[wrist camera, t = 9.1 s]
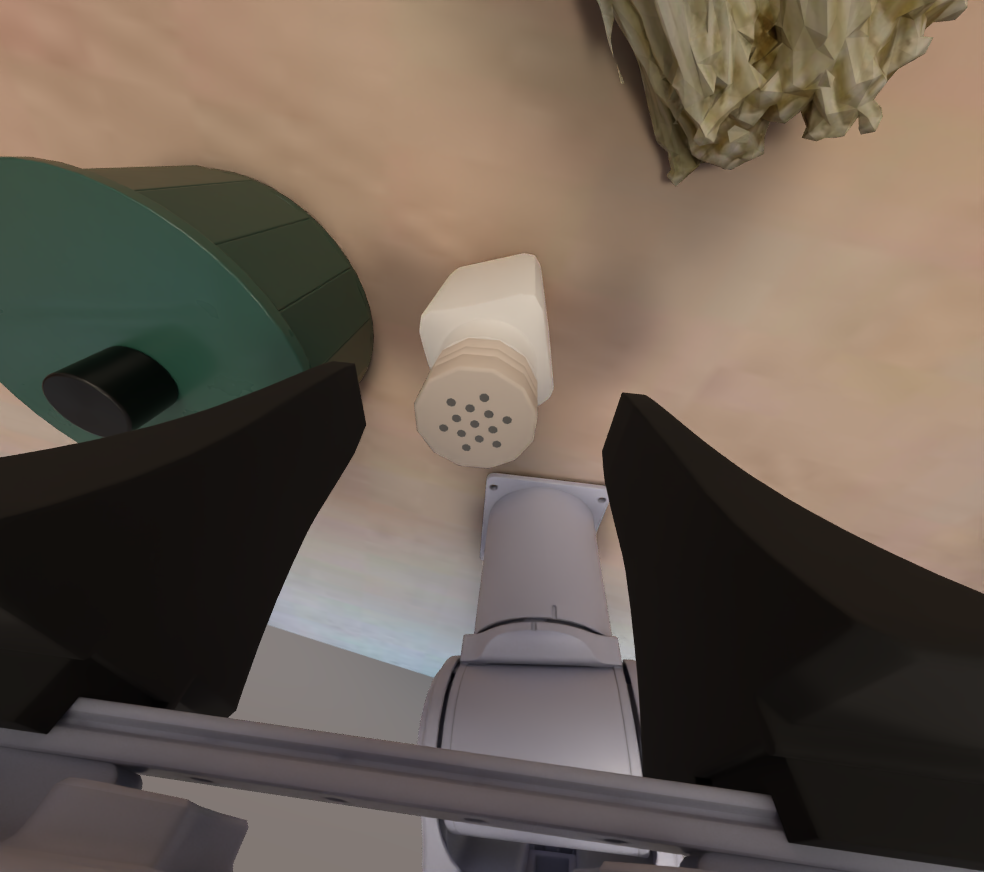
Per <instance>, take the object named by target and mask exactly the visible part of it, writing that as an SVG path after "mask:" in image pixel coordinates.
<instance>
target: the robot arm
mask: <svg viewBox="0 0 984 872" xmlns="http://www.w3.org/2000/svg"><path fill="white" fill-rule="evenodd" d="M365 426H366V421H365V416H364V410H363V405H362V399H361V394H360V388H359V383H358V377H357V372H356V366H355V363H346V362H337V361H332V362H328V363H325V364H322V365H319V366H316V367H313V368H311V369H308V370H306V371H303V372H301V373H298V374H296V375H294V376H291V377H289V378H286V379H284V380H282V381H279V382H277V383H274V384H272V385H270V386H267V387H265V388H262V389H260V390H257V391H255V392H252V393H249V394H247V395H244V396H242V397H239V398H236V399H234V400H231V401H228V402H226V403H223V404H221V405H218V406H215V407H212V408H209V409H206V410H203V411H200V412H197V413H194V414H191V415H187V416H184V417H181V418H177V419H174V420H171V421H167V422H164V423H160V424H157V425H153V426H149V427H145V428H141V429H137V430H132V431H128V432H124V433H120V434H116V435H112V436H108V437H104V438H100V439H95V440H91V441H86V442H81V443H76V444H71V445H66V446H61V447H56V448H51V449H46V450H40V451H35V452H29V453H24V454H18V455H12V456H6V457H0V872H233V863H234V860H235V858H236V855H237V853H238V851H239V848H240V846H241V844H242V841H243V839H244V837H245V834H246V832H247V830H248V823H247V820H244V819H240V818H236V817H233V816H229V815H225V814H222V813H218V812H215V811H212V810H210V809H206V808H204V807H201V806H199V805H197V804H195V803H193V802H191V801H189V800H187V799H182V798H178V797H173V796H168V795H163V794H158V793H153V792H148V791H143V790H141V789H142V779H141V776H140V775H146V776H154V777H160V778H167V779H174V780H180V781H187V782H194V783H201V784H207V785H214V786H221V787H228V788H234V789H241V790H248V791H254V792H261V793H268V794H275V795H281V796H288V797H295V798H301V799H309V800H315V801H322V802H328V803H336V804H342V805H348V806H356V807H362V808H369V809H375V810H383V811H389V812H396V813H403V814H409V815H416V816H421V823H422V871H423V872H984V594H983V593H981V592H978V591H976V590H973V589H971V588H969V587H966V586H964V585H962V584H959V583H957V582H954V581H952V580H950V579H947V578H945V577H942V576H940V575H938V574H936V573H933V572H931V571H929V570H927V569H925V568H922V567H920V566H918V565H916V564H914V563H912V562H910V561H907V560H905V559H903V558H901V557H899V556H897V555H895V554H892V553H890V552H888V551H886V550H884V549H882V548H880V547H878V546H876V545H874V544H872V543H870V542H868V541H866V540H864V539H862V538H860V537H858V536H856V535H854V534H852V533H850V532H848V531H846V530H844V529H842V528H840V527H838V526H836V525H834V524H833V523H831V522H829V521H827V520H825V519H823V518H821V517H820V516H818V515H816V514H814V513H812V512H810V511H809V510H807V509H805V508H803V507H801V506H800V505H798V504H796V503H795V502H793V501H791V500H789V499H788V498H786V497H784V496H783V495H781V494H780V493H778V492H776V491H775V490H773V489H772V488H770V487H768V486H767V485H765V484H764V483H762V482H760V481H759V480H757V479H756V478H754V477H753V476H751V475H750V474H748V473H747V472H745V471H744V470H742V469H741V468H739V467H738V466H737V465H735V464H734V463H732V462H731V461H730V460H728V459H727V458H726V457H724V456H723V455H721V454H720V453H719V452H717V451H716V450H715V449H713V448H712V447H711V446H709V445H708V444H707V443H706V442H704V441H703V440H702V439H701V438H699V437H698V436H697V435H696V434H694V433H693V432H692V431H691V430H689V429H688V428H687V427H686V426H684V425H683V424H682V423H681V422H680V421H678V420H677V419H676V418H675V417H674V416H672V415H671V414H670V413H669V412H668V411H666V410H665V409H664V408H663V407H661V406H660V405H659V404H658V403H656V402H655V401H654V400H652V399H651V398H649V397H648V396H646V395H641V394H632V393H622V394H621V397H620V400H619V403H618V406H617V409H616V412H615V415H614V418H613V421H612V424H611V427H610V430H609V433H608V435H607V438H606V441H605V444H604V447H603V450H602V457H603V470H604V479H605V485H606V486H604V485H595V484H587V483H578V482H570V481H561V480H553V479H544V478H536V477H527V476H519V475H510V474H502V473H490V474H489V475H488V476H487V480H486V491H485V503H484V514H483V526H482V537H481V549H480V559H481V560H483V568H482V576H481V584H480V591H479V599H478V607H477V615H476V623H475V631H474V634H466V635H464V636H463V643H462V650H461V656H452V657H450V658H449V659H447V661H446V662H445V663H444V665H443V666H442V668H441V669H440V670H439V672H438V673H437V674H436V676H435V677H434V679H433V681H432V683H431V686H430V688H429V691H428V693H427V697H426V700H425V704H424V708H423V712H422V716H421V721H420V728H419V734H418V742H417V745H414V744H407V743H400V742H392V741H386V740H379V739H372V738H365V737H358V736H351V735H344V734H337V733H330V732H322V731H316V730H309V729H302V728H294V727H287V726H280V725H273V724H267V723H260V722H252V721H245V720H238V719H231V718H228V717H229V716H230V715H231V714H232V713H234V712H235V711H236V709H237V706H238V703H239V700H240V697H241V694H242V691H243V688H244V685H245V683H246V680H247V677H248V674H249V671H250V669H251V666H252V663H253V660H254V657H255V655H256V652H257V649H258V646H259V643H260V641H261V638H262V636H263V633H264V631H265V628H266V625H267V623H268V621H269V618H270V616H271V613H272V611H273V608H274V605H275V603H276V600H277V598H278V596H279V594H280V591H281V589H282V587H283V584H284V582H285V580H286V577H287V575H288V573H289V570H290V568H291V566H292V564H293V561H294V559H295V557H296V555H297V553H298V551H299V549H300V547H301V544H302V542H303V540H304V538H305V536H306V534H307V532H308V530H309V528H310V526H311V524H312V523H313V521H314V519H315V517H316V516H317V514H318V512H319V511H320V509H321V507H322V506H323V504H324V503H325V501H326V499H327V498H328V496H329V494H330V493H331V491H332V490H333V488H334V486H335V485H336V483H337V481H338V480H339V478H340V477H341V475H342V473H343V472H344V470H345V468H346V467H347V465H348V463H349V462H350V460H351V458H352V456H353V455H354V453H355V451H356V448H357V446H358V444H359V441H360V439H361V436H362V434H363V431H364V429H365ZM492 485H496V486H492ZM600 498H602V499H600ZM609 502H610V507H611V511H612V515H613V519H614V523H615V527H616V531H617V535H618V539H619V543H620V547H621V551H622V555H623V560H624V566H625V571H626V578H627V585H628V593H629V601H630V608H631V617H632V627H633V636H634V645H635V656H636V661H635V660H624V659H623V662H622V660H621V654H620V649H619V643H618V638H617V637H616V636H612V633H611V626H610V620H609V614H608V608H607V601H606V595H605V589H604V583H603V576H602V570H601V564H600V558H599V551H598V545H597V539H596V533H597V530H598V528H599V525H600V523H601V521H602V518H603V516H604V513H605V511H606V508H607V506H608V503H609ZM138 774H140V775H138ZM683 855H685V856H686V857H685V858H684V859H683Z"/></svg>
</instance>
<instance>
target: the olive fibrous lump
mask: <svg viewBox="0 0 984 872" xmlns="http://www.w3.org/2000/svg"><path fill="white" fill-rule="evenodd" d="M597 1H598V4H599V7H600V10H601V13H602V17H603V21H604V26H605V30H606V35H607V39H608V43H609V46H610V49H611V52H612V55H613V50H612V43H611V34H612V27H613V20H614V18H615V20H616V22H617V23H618V25H619V27H620V29H621V30H622V32H623V34H624V35H625V37H626V39H627V41H628V42H629V44H630V46H631V47H632V49H633V51H634V54H635V56H636V59H637V62H638V65H639V68H640V73H641V77H642V82H643V86H644V91H645V95H646V100H647V104H648V109H649V113H650V117H651V121H652V125H653V129H654V134H655V137H656V142H657V143H658V144H659V145H660V146H661V147H662V148H663V149H664V150H666V151H667V152H668V158H669V162H670V166H671V170H670V172H669V173H668V174H667V177H668V178H669V179H670V181H671V182H672V183H673V184H674V185H675V186H677V185H678V184H679V183H680V182H681V181H682V180H683V179H685V178H686V177H687V176H688V175H689V174H690V173H691V172H693V171H694V170H695V169H696V168H697V167H698V166H699V164H700V163H705V162H708V163H710V164H713V165H716V166H719V167H722V168H723V169H729V170H732V169H734V168H735V167H737V166H739V165H741V164H743V163H744V162H746V161H749V160H752V159H754V158H756V157H758V156H760V155H762V154H763V153H764V140H765V134H766V131H767V128H768V126H769V123H770V121H771V122H778V123H786V122H787V121H789V120H790V119H791V118H792V117H794V116H795V115H796V114H798V113H799V112H800V111H801V113H802V116H803V119H804V122H805V125H806V129H805V131H804V134H803V136H802V138H805V139H809V140H814V141H818V140H821V139H823V138H836V137H841V136H844V135H845V134H846V133H847V131H848V130H849V129H850V127H851V126H852V124H853V123H854V122H855V120H856V119H857V118H858V116H859V131H860V133H861V134H866V133H871V132H875V131H876V129H877V127H878V125H879V123H880V121H881V119H882V117H883V116H882V109H881V107H880V106H879V105H878V104H877V102H876V101H875V100H874V98H875V97H876V96H877V94H878V93H879V92H880V90H881V89H882V88H883V86H884V85H885V84H886V83H887V81H888V80H889V79H890V78H891V76H892V75H893V74H894V73H895V72H896V71H897V70H898V69H899V68H901V67H903V66H904V65H906V64H908V63H909V62H911V61H913V60H915V59H916V58H918V57H920V56H922V55H923V54H925V53H926V51H927V49H928V47H929V45H930V43H931V41H932V39H933V37H924V31H925V29H926V28H927V27H928V26H929V25H930V24H932V23H933V22H940V21H950V20H955V19H956V18H957V17H958V16H959V15H960V14H961V13H962V12H963V11H964V10H965V9H966V8H967V0H597ZM613 57H614V56H613ZM616 64H617V63H616ZM617 69H618V74H619V78H620V83H621V84H624V81H623V78H622V76H621V73H620V71H619V68H618V66H617Z"/></svg>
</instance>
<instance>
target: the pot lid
mask: <svg viewBox="0 0 984 872" xmlns="http://www.w3.org/2000/svg"><path fill="white" fill-rule="evenodd" d="M311 368H312V367H311V365H310V362H309V360H308V358H307V356H306V354H305V352H304V350H303V347H302V346H301V344H300V343H299V341H298V339H297V338H296V336H295V334H294V333H293V331H292V329H291V328H290V326H289V324H288V323H287V322H286V320H285V319H284V318H283V316H282V315H281V313H280V312H279V311H278V309H277V308H276V307H275V305H274V304H273V303H272V301H271V300H270V299H269V298H268V297H267V295H266V294H265V293H264V292H263V291H262V290H261V289H260V288H259V286H258V285H257V284H256V283H255V282H254V281H253V280H252V279H251V277H250V276H249V275H248V274H247V273H246V272H245V271H244V270H243V269H241V268H240V267H239V266H238V265H237V264H236V263H235V262H234V261H233V260H232V259H231V258H230V257H229V256H228V255H227V254H226V253H225V252H224V251H223V250H221V249H220V248H219V247H218V246H216V245H215V244H214V243H213V242H211V241H210V240H209V239H208V238H206V237H205V236H204V235H203V234H201V233H200V232H199V231H198V230H197V229H195V228H194V227H193V226H191V225H190V224H188V223H187V222H185V221H184V220H182V219H181V218H179V217H178V216H176V215H175V214H173V213H172V212H170V211H169V210H168V209H166V208H165V207H163V206H161V205H159V204H158V203H156V202H154V201H152V200H151V199H149V198H147V197H145V196H143V195H142V194H140V193H138V192H136V191H134V190H133V189H131V188H129V187H126V186H124V185H122V184H120V183H117V182H115V181H113V180H110V179H108V178H106V177H104V176H101V175H99V174H97V173H94V172H91V171H88V170H85V169H81V168H78V167H75V166H72V165H69V164H65V163H62V162H57V161H51V160H45V159H40V158H34V157H0V382H1V383H2V384H3V385H4V386H5V387H6V388H7V389H8V390H9V391H10V392H11V393H13V394H14V395H15V396H16V397H17V398H18V399H19V400H21V401H22V402H23V403H24V404H25V405H27V406H28V407H29V408H30V409H31V410H33V411H34V412H35V413H36V414H37V415H39V416H40V417H42V418H43V419H44V420H46V421H47V422H48V423H50V424H51V425H52V426H54V427H55V428H56V429H58V430H59V431H61V432H62V433H64V434H65V435H67V436H68V437H70V438H71V439H73V440H74V441H76V442H77V443H81V442H86V441H91V440H95V439H100V438H104V437H108V436H112V435H116V434H120V433H124V432H128V431H132V430H137V429H141V428H145V427H149V426H153V425H157V424H160V423H164V422H167V421H171V420H174V419H177V418H181V417H184V416H187V415H191V414H194V413H197V412H200V411H203V410H206V409H209V408H212V407H215V406H218V405H221V404H223V403H226V402H228V401H231V400H234V399H236V398H239V397H242V396H244V395H247V394H249V393H252V392H255V391H257V390H260V389H262V388H265V387H267V386H270V385H272V384H274V383H277V382H279V381H282V380H284V379H286V378H289V377H291V376H294V375H296V374H298V373H301V372H303V371H306V370H308V369H311Z"/></svg>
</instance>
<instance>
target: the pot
mask: <svg viewBox="0 0 984 872" xmlns="http://www.w3.org/2000/svg"><path fill="white" fill-rule="evenodd" d="M85 170H88V171H91V172H94V173H97V174H99V175H101V176H104V177H106V178H108V179H110V180H113V181H115V182H117V183H120V184H122V185H124V186H126V187H129V188H131V189H133V190H134V191H136V192H138V193H140V194H142V195H143V196H145V197H147V198H149V199H151V200H152V201H154V202H156V203H158V204H159V205H161V206H163V207H165V208H166V209H168V210H169V211H170V212H172V213H173V214H175V215H176V216H178V217H179V218H181V219H182V220H184V221H185V222H187V223H188V224H190V225H191V226H193V227H194V228H195V229H197V230H198V231H199V232H200V233H201V234H203V235H204V236H205V237H206V238H208V239H209V240H210V241H211V242H213V243H214V244H215V245H216V246H218V247H219V248H220V249H221V250H223V251H224V252H225V253H226V254H227V255H228V256H229V257H230V258H231V259H232V260H233V261H234V262H235V263H236V264H237V265H238V266H239V267H240V268H241V269H243V270H244V271H245V272H246V273H247V274H248V275H249V276H250V277H251V279H252V280H253V281H254V282H255V283H256V284H257V285H258V286H259V288H260V289H261V290H262V291H263V292H264V293H265V294H266V295H267V297H268V298H269V299H270V300H271V301H272V303H273V304H274V305H275V307H276V308H277V309H278V311H279V312H280V313H281V315H282V316H283V318H284V319H285V320H286V322H287V323H288V324H289V326H290V328H291V329H292V331H293V333H294V334H295V336H296V338H297V339H298V341H299V343H300V344H301V346H302V347H303V350H304V352H305V354H306V356H307V358H308V360H309V362H310V365H311V367H312V368H313V367H316V366H319V365H322V364H325V363H328V362H332V361H337V362H346V363H355V366H356V372H357V377H358V383H360V381H361V379H362V378H363V376H364V375H365V373H366V371H367V368H368V366H369V363H370V360H371V355H372V351H373V338H374V336H373V323H372V318H371V313H370V308H369V304H368V301H367V298H366V295H365V292H364V290H363V288H362V285H361V283H360V281H359V279H358V277H357V274H356V273H355V271H354V269H353V268H352V266H351V264H350V262H349V261H348V259H347V257H346V256H345V255H344V253H343V252H342V251H341V249H340V248H339V246H338V245H337V244H336V242H335V241H334V240H333V239H332V238H331V237H330V235H329V234H328V233H327V232H326V231H325V230H324V229H323V227H322V226H321V225H320V224H318V223H317V222H316V221H315V220H314V219H313V218H312V217H311V216H310V215H309V214H308V213H307V212H306V211H304V210H303V209H302V208H300V207H299V206H298V205H297V204H295V203H294V202H293V201H291V200H290V199H289V198H287V197H285V196H284V195H282V194H281V193H279V192H277V191H276V190H274V189H272V188H271V187H269V186H267V185H265V184H262V183H260V182H258V181H256V180H254V179H252V178H249V177H246V176H243V175H240V174H237V173H233V172H229V171H223V170H218V169H209V168H205V167H201V166H194V165H192V166H159V167H127V168H94V169H85Z"/></svg>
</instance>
